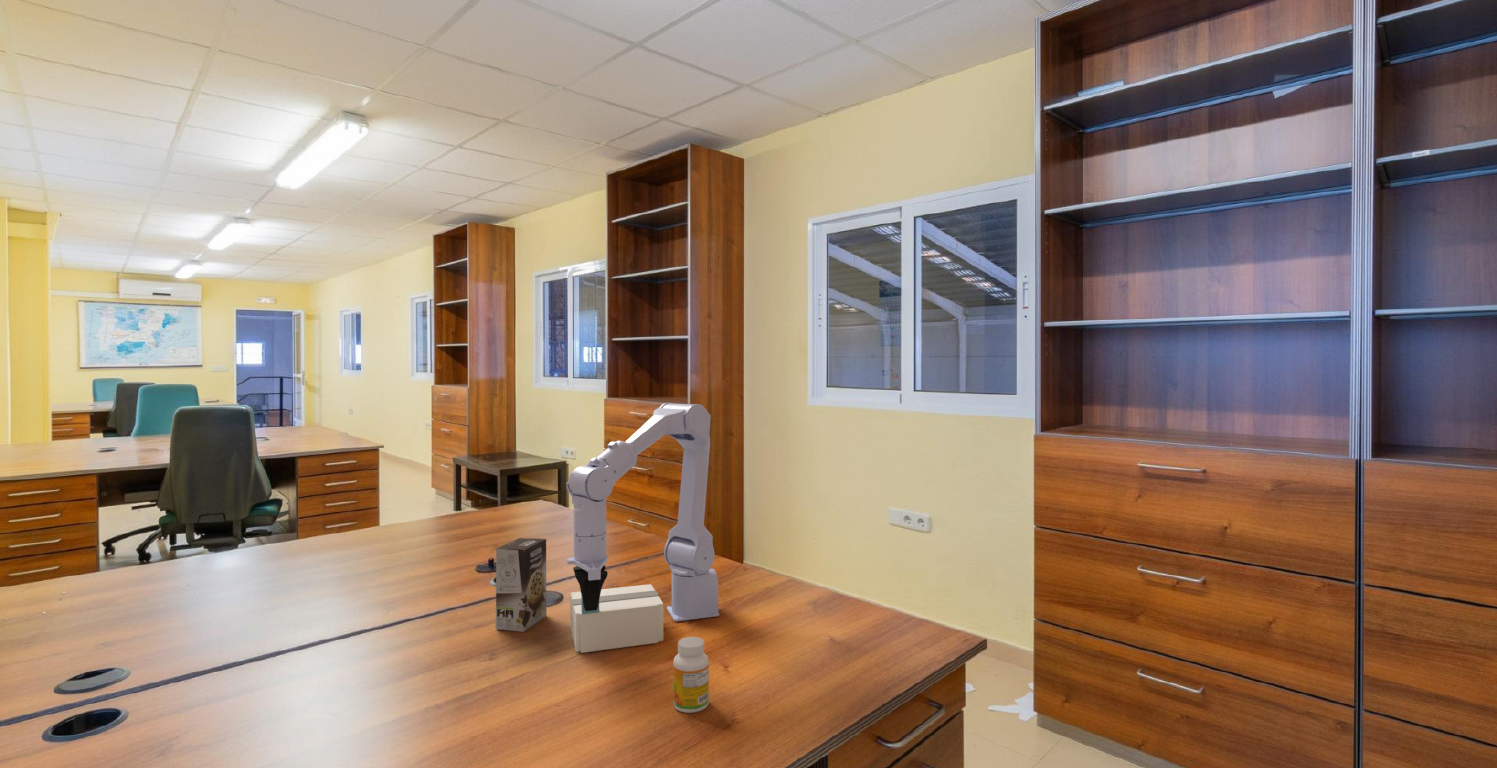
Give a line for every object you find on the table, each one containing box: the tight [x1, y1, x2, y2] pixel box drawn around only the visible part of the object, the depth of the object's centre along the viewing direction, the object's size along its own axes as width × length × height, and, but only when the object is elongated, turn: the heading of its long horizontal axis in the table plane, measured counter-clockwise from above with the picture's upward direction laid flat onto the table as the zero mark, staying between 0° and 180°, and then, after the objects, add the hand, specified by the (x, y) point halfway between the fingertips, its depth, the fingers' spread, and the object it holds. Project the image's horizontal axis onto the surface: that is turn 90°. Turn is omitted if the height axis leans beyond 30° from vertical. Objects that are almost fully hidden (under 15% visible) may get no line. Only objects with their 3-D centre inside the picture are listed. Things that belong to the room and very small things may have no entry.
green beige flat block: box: [580, 594, 659, 653], centre depth 123 cm, size 14×1×10 cm, turn 109°
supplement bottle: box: [672, 636, 710, 714], centre depth 102 cm, size 5×5×10 cm
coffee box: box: [495, 537, 547, 633], centre depth 135 cm, size 9×6×16 cm
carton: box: [570, 584, 664, 653], centre depth 129 cm, size 16×12×7 cm
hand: (590, 608), depth 121 cm, fingers closed on green beige flat block
